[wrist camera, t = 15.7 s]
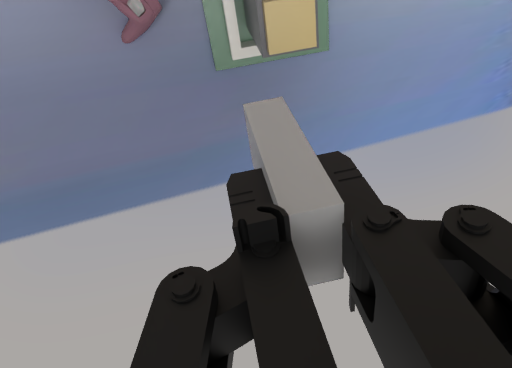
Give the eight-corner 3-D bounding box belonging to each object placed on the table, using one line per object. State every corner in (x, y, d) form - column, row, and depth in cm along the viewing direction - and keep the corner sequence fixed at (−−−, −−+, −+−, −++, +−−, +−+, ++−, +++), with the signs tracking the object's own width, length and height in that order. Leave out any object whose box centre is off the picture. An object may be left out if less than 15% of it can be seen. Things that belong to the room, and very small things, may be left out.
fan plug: (246, 27, 37) (264, 61, 28) (238, -34, 34) (255, -16, 25) (290, 19, 37) (322, 50, 28) (286, -42, 34) (319, -27, 25)
